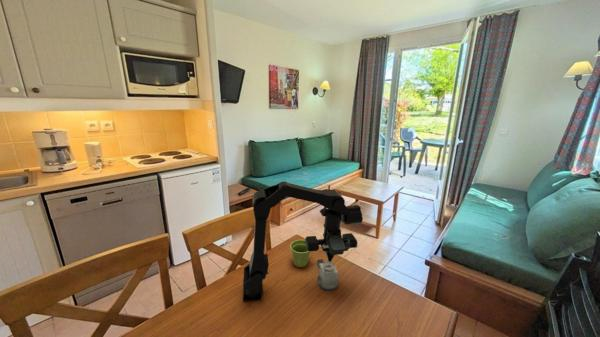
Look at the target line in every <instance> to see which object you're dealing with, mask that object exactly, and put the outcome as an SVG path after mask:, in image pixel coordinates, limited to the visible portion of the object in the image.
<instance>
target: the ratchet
mask: <svg viewBox="0 0 600 337" xmlns="http://www.w3.org/2000/svg"><path fill="white" fill-rule="evenodd" d="M324 262H325V261H324V260H323V259H321V258H319V259H316V264H317V267H318V269H319V263H324ZM316 283H317V286H318V288H319V289H320V290H322V291H324V292H329V293H330V292H334V291H336V290H337V289H338V286H339V280H338V281H337V284H334V285H326V286H322V283H321V280H320V277H319V275H318V276H317V280H316Z"/></svg>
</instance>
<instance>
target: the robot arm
mask: <svg viewBox="0 0 600 337" xmlns="http://www.w3.org/2000/svg"><path fill="white" fill-rule="evenodd" d="M252 194H253V195H252V208H253V215H254V233H253V249H252V254H251V256H250V258H249V263H247V265H246V266H245V267H244V268H243V280H242V289H243V291H242V292H243V293H242V294H243V295H242V301H243V302H250V301H260V300H262V299H263V298H262V295H263V294H264V290H263V287H264V284H263V281H264V280H265V279H266V277H267V275H269V270H268V269H269V266H270V265H269V264H270V263H269V257H268V256H269V255H268V253H265V246H266V245H265V244H266V234H267V233H266V232H267V231H266V229H267V220H268V218H269V216H270V213H271V209H272V208H274V207H275V206H277V205H278V204H279V203H280V202H282V200H284V199H285V198H293V199H298V200H300V201H305V202H311V203H315V204H318V205H321V206H323V208H321V209H319V213H320V214H321V216H322V217H324V223H323V233H322V237H323V238H319V239H318V238H317V236H316V235H309V236H308V235H307V236H306V237H305V239H304V240H305V244H306V247H307V250H308V251H310V252H317V251H319V248H320V247H321V250H322V251H323V252H325V255H326V257H327V258H326V259H327V261H329V262H331V261H332V260H333V259H334V257H335V256H337V255H341V256H342V255H343V254H344V253H345V252H349V250H350V249H353V248H357V247H358V243H359V242H358V239H357V238H356V236H355V235H354V234H353V233H352V232H348V233H342V230H341V223H344V225H347V226H348V225H357V224H358V225H360V224H362V222H363V219H364V217H363V213H362V210H361V208H362V207H361V206H360V205H359V204H355V205H347V206H346V201H345V200H346V199H345V198H344V197H343V196H342V195H341V194H340V193H339V192H338V191H337V190H336V189H327V188H325V189H315V188H312V187H307V186H302V185H299V184H295V183H290V182H288V181H284V180H283V181H280V182H278V183H277V184H274V185H270V186H268V187H265V188H264V189H259V190H257V191H255V192H254V193H252ZM332 262H333V261H332Z"/></svg>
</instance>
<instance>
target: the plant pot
mask: <svg viewBox="0 0 600 337" xmlns="http://www.w3.org/2000/svg"><path fill="white" fill-rule="evenodd" d="M289 247H290V250H291V253H292V258H293V259H292V260H293V264H294V266H296V268H297V267H298V268H299V267H300V268H304V267H306V266H307V265H308V261H309V258H310V253H311V251H308V250H307V247H306V244H305V239H296V240H293V241H292V242H291V243H290V245H289Z"/></svg>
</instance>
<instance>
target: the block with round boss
mask: <svg viewBox="0 0 600 337" xmlns="http://www.w3.org/2000/svg"><path fill="white" fill-rule="evenodd" d="M323 262H324V263H319V268H318V276H319V277H320V280H321V283H322V286H326V285H334V284H337V281H338V282H339V271H338V269H337V266H336V264H335V262H334V261H331V262H329V261H328V260H326V261H323Z"/></svg>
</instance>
